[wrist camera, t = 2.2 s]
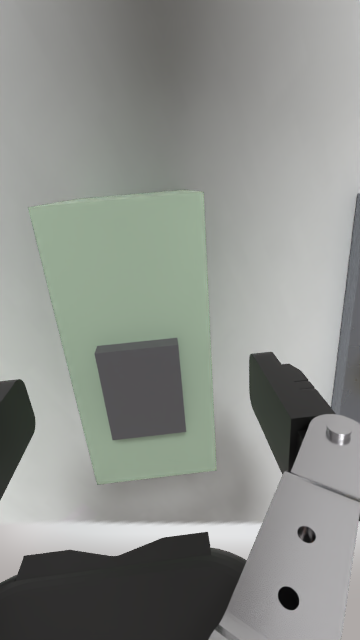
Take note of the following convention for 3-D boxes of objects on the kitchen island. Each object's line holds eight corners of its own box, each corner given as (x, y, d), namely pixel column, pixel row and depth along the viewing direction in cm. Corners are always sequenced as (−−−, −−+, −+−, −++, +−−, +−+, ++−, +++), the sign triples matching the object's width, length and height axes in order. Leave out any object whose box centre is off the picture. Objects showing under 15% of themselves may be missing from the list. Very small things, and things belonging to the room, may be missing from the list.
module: (77, 198, 16) (20, 208, 9) (184, 189, 17) (206, 192, 10) (114, 393, 21) (94, 496, 14) (197, 384, 21) (218, 481, 14)
